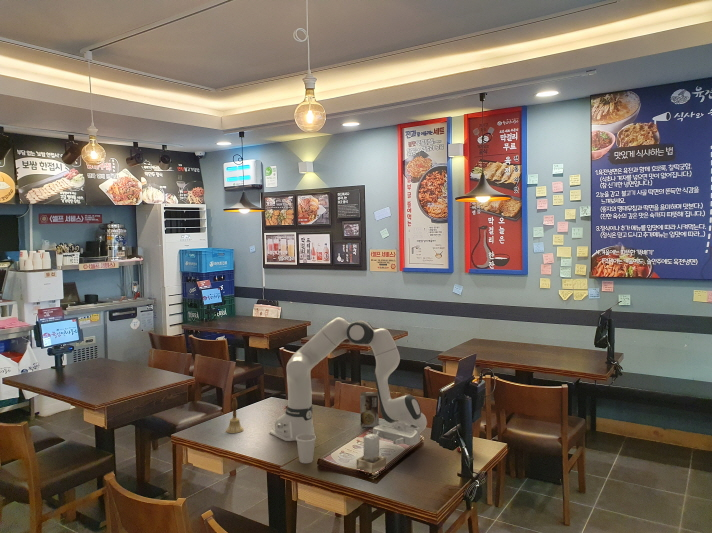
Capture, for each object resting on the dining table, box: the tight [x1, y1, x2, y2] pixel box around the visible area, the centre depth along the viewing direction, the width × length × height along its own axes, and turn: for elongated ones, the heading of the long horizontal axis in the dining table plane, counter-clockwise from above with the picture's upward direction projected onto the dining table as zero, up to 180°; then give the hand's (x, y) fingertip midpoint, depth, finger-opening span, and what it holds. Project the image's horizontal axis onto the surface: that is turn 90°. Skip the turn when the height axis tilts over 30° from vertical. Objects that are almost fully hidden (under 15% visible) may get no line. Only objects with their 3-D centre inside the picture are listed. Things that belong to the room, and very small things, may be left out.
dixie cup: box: [296, 434, 317, 464], centre depth 218 cm, size 8×8×10 cm
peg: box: [363, 433, 380, 463], centre depth 209 cm, size 4×4×13 cm
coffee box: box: [359, 391, 380, 428], centre depth 262 cm, size 9×6×16 cm
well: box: [356, 455, 387, 473], centre depth 210 cm, size 8×8×4 cm
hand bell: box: [225, 397, 244, 434], centre depth 254 cm, size 8×8×16 cm
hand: (385, 440), depth 217 cm, fingers open, 8 cm apart
